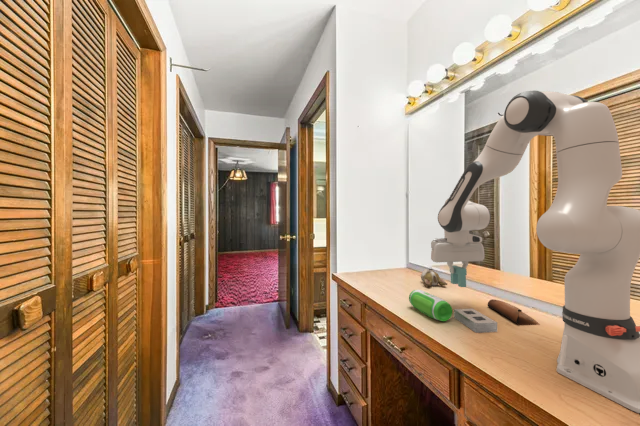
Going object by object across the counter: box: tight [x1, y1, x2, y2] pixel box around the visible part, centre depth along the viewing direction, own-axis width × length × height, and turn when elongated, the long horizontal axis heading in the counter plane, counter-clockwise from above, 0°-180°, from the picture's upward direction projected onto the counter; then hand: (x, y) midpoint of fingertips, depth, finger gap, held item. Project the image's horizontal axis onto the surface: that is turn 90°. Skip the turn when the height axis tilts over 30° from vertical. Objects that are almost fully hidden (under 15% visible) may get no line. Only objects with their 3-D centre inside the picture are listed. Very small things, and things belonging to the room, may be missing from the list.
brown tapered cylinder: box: [487, 299, 541, 326], centre depth 103 cm, size 18×7×7 cm
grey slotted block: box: [453, 308, 498, 334], centre depth 96 cm, size 13×7×3 cm, turn 3°
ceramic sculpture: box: [420, 267, 448, 287], centre depth 147 cm, size 11×9×15 cm
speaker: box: [408, 289, 453, 322], centre depth 106 cm, size 18×7×8 cm, turn 14°
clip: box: [450, 264, 468, 288], centre depth 112 cm, size 8×2×7 cm, turn 3°
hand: (457, 273), depth 112 cm, fingers closed on clip, 2 cm apart
